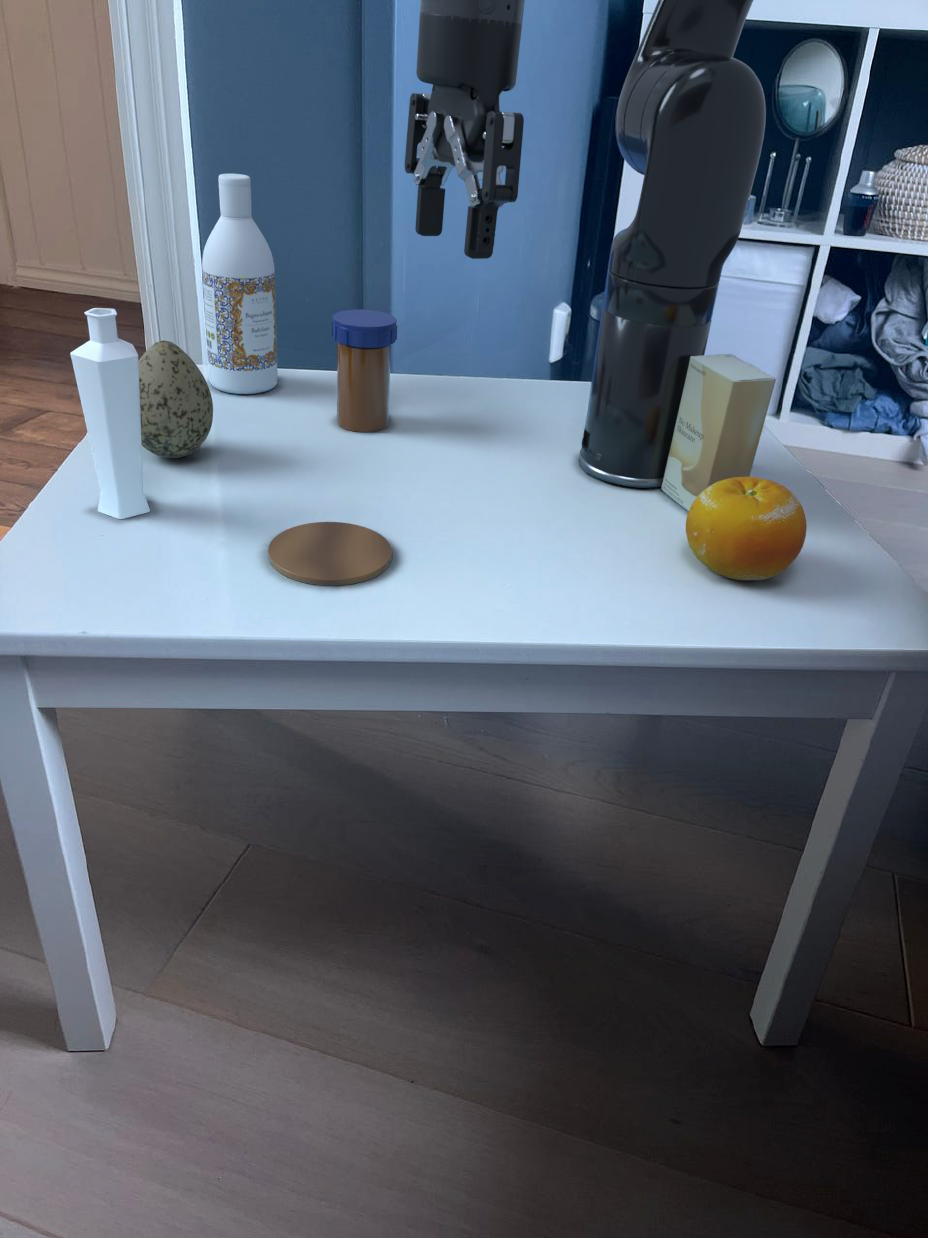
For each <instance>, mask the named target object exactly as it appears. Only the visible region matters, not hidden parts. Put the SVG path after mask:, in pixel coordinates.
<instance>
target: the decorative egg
mask: <svg viewBox="0 0 928 1238" xmlns="http://www.w3.org/2000/svg"><path fill="white" fill-rule="evenodd" d="M138 364H139V391H140V417H141V444H142V447H143V448H144V449H145V450H147V451H148V452H150V453H151V454H153V455H156V456H158V457H161V458H165V459H178V458H184V457H186V456H189V455H190V454H193V453H194V452H195V451H197V450H198V449H199V448H200V447H201V446H202V445H203V444H204V442H205V441H206V440H207V438H208V436H209V434H210V432H211V429H212V425H213V420H214V402H213V397H212V393H211V390H210V386H209V384H208V382H207V380H206V378H205V376H204V375H203V373H202V371H201V370H200V368H199V367H198V365H197V364H196V363H195V361H194V360H193V359H192V358H191V357H190V356H189V355H188V354H187V353H186V352H185V351H184V350H183V349H182V348H181V347H179V345H177V344H176V343H175V342H172V341H169V340H159V341H157V342H155V343H153V344H152V345H151V346H149V347H148V348H147V350H146V351H145V352H144V353H143V354H142V356H140V359H139V358H138Z"/></svg>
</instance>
